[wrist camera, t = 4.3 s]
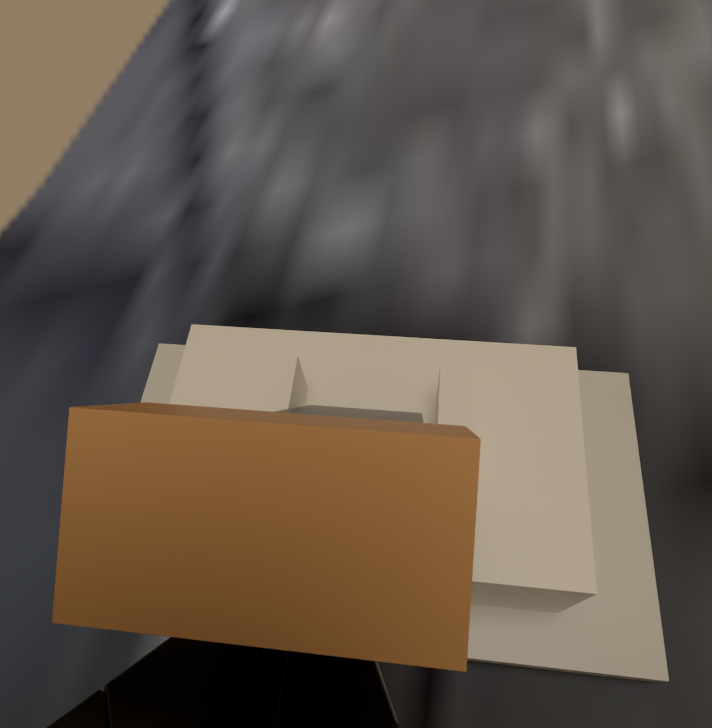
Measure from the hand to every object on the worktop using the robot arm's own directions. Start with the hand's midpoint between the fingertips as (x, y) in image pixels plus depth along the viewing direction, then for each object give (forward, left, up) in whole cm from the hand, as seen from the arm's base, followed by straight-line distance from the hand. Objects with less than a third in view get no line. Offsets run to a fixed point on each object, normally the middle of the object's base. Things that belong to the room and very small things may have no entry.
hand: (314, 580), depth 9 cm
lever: (+2, +4, -6) cm, 8 cm away
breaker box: (+2, +4, -12) cm, 13 cm away
